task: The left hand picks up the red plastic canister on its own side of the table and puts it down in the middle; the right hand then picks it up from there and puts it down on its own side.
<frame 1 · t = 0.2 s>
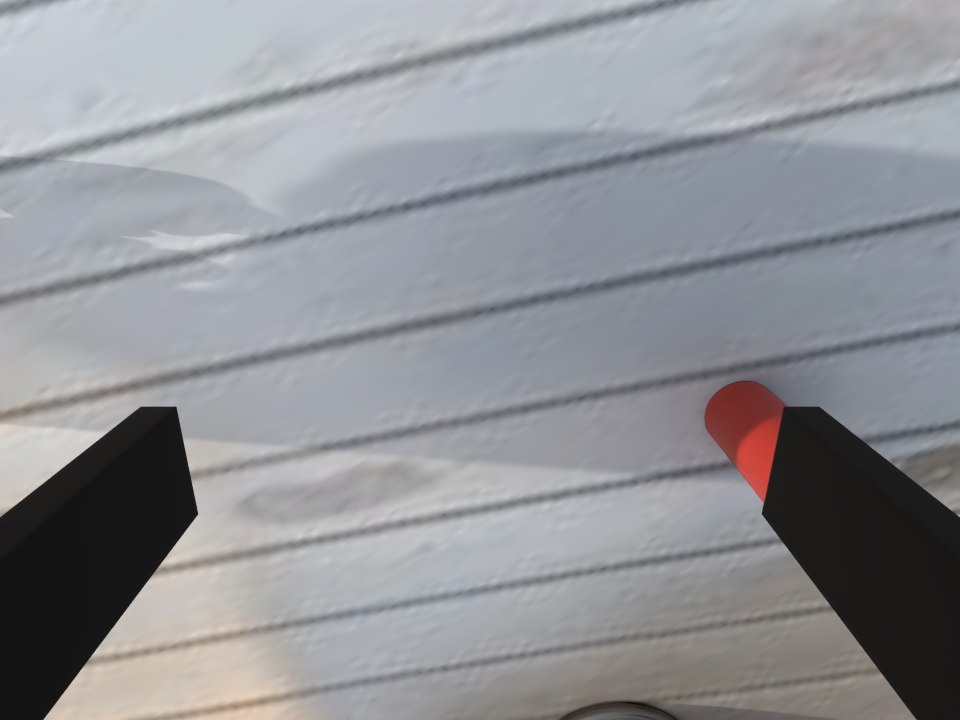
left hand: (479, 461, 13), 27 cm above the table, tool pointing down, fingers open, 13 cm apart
canister: (740, 413, 43), on the table
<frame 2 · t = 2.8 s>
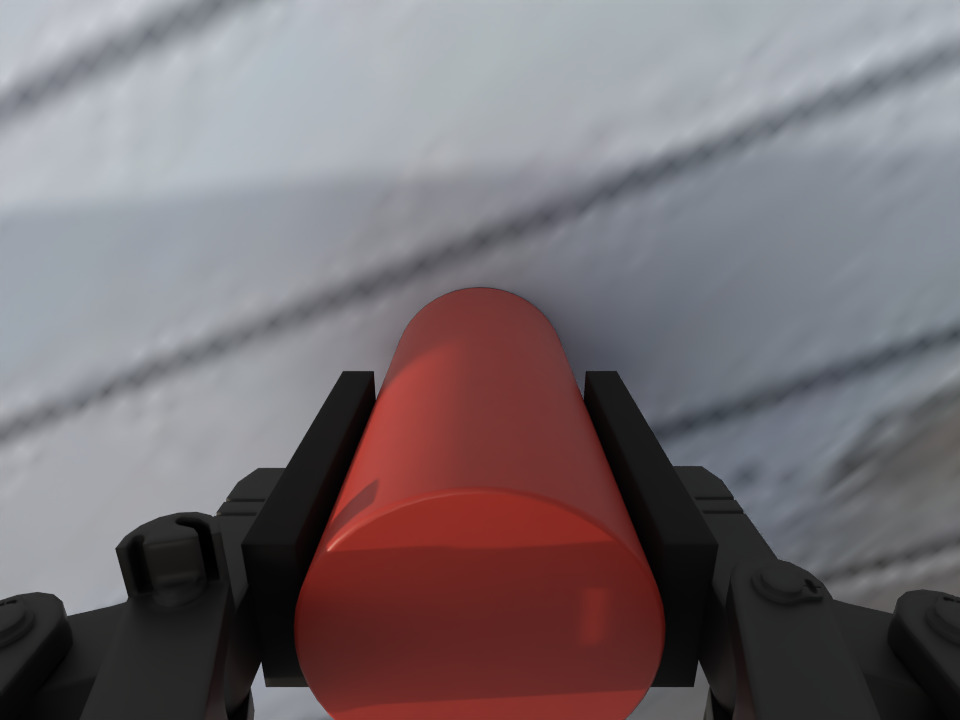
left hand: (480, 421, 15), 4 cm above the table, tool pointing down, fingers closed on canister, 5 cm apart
canister: (479, 369, 18), on the table, touching left hand
when the left hand's fingers open (5 cm above the table, at t = 13.2 s): canister drops 1 cm, on the table.
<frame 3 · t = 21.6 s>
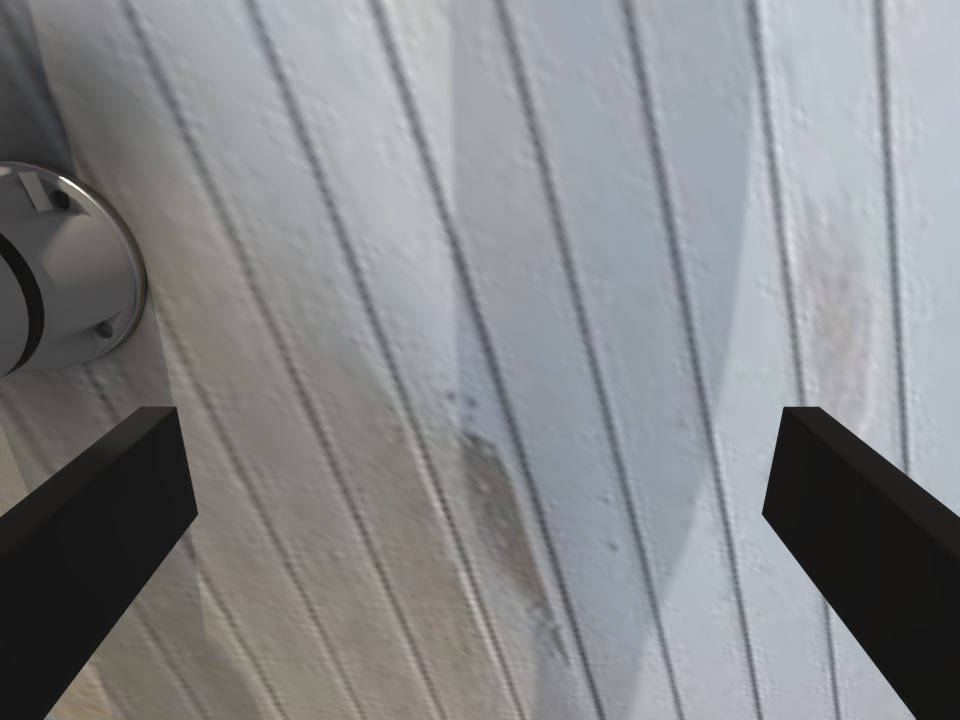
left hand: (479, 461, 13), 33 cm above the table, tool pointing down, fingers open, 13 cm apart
when the right hand's fingers open (5 cm above the table, at t = 31.5 s): canister drops 1 cm, on the table.
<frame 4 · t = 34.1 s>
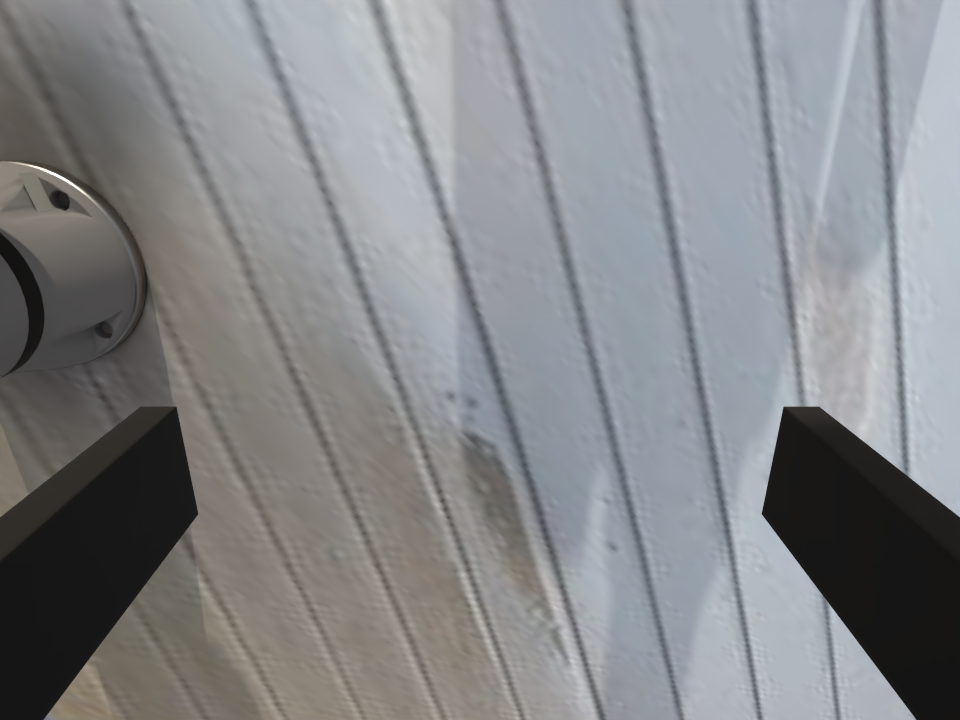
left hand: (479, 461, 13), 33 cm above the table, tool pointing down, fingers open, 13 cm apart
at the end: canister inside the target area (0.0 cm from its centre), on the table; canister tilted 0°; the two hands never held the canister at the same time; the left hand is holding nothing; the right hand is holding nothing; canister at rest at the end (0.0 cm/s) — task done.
